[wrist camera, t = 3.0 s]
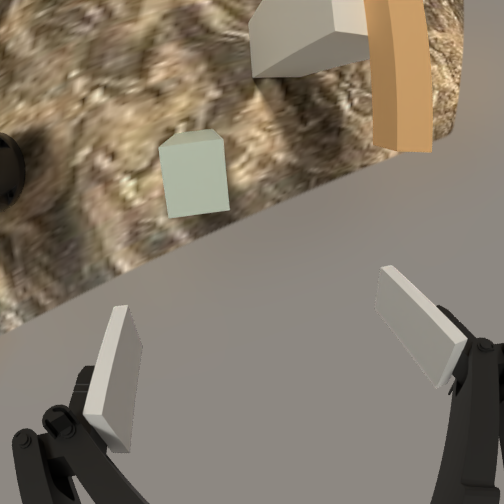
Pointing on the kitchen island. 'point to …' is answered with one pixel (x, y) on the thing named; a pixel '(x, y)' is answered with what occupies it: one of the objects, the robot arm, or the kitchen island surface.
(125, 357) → the robot arm
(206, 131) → the pale green tall block
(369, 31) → the bar
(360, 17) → the post
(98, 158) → the kitchen island surface
